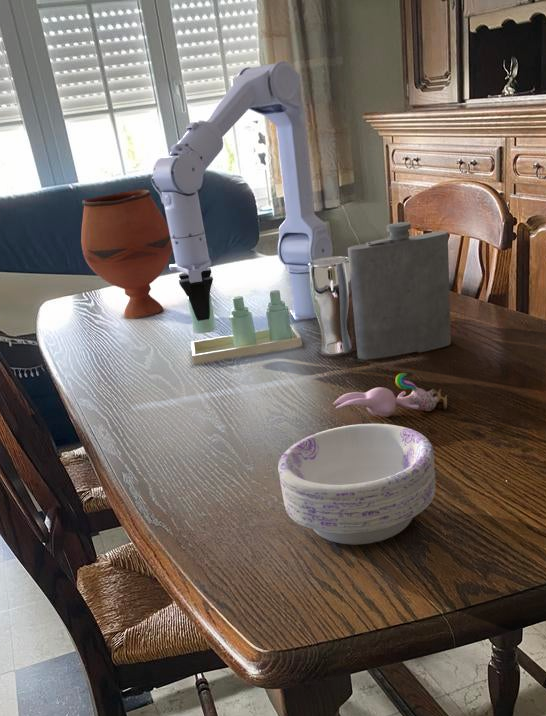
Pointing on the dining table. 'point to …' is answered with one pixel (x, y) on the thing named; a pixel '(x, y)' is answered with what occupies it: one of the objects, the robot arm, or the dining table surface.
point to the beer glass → (333, 303)
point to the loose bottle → (203, 321)
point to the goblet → (127, 245)
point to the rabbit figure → (392, 399)
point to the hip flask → (400, 293)
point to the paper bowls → (358, 481)
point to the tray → (226, 350)
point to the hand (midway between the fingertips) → (203, 316)
